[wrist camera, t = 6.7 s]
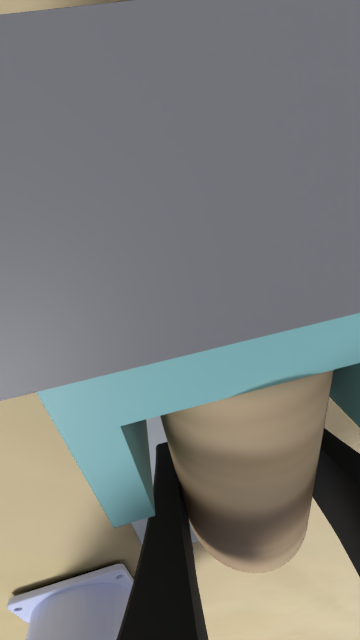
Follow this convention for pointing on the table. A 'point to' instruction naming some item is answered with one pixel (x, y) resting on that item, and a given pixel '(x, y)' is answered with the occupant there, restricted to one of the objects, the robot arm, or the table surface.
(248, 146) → the backstop wall
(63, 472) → the table surface
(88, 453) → the teal arch
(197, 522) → the dowel
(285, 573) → the table surface
